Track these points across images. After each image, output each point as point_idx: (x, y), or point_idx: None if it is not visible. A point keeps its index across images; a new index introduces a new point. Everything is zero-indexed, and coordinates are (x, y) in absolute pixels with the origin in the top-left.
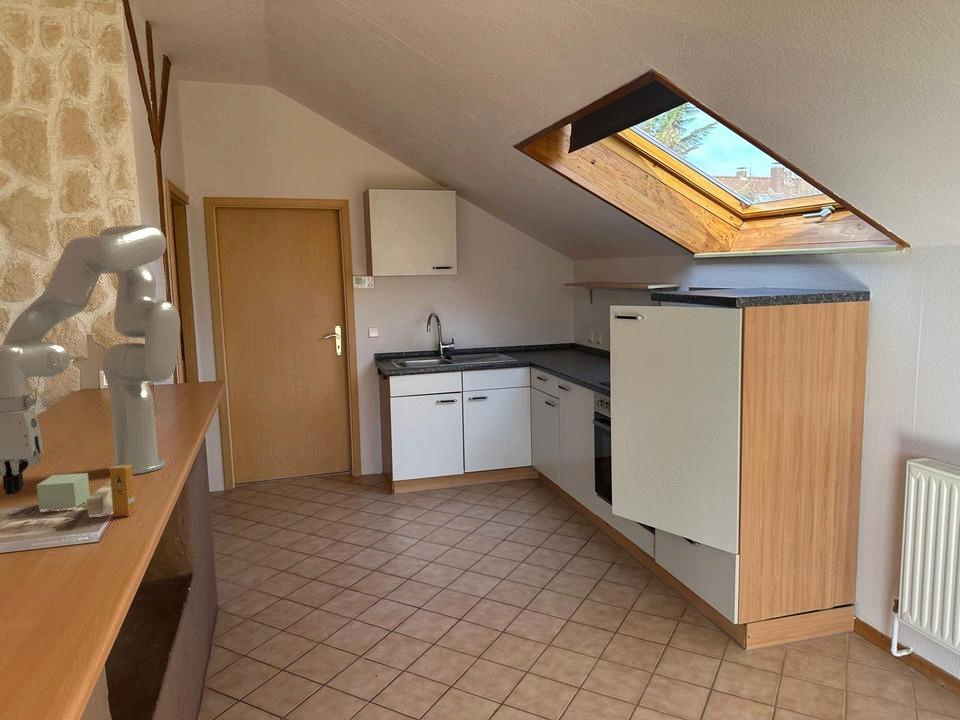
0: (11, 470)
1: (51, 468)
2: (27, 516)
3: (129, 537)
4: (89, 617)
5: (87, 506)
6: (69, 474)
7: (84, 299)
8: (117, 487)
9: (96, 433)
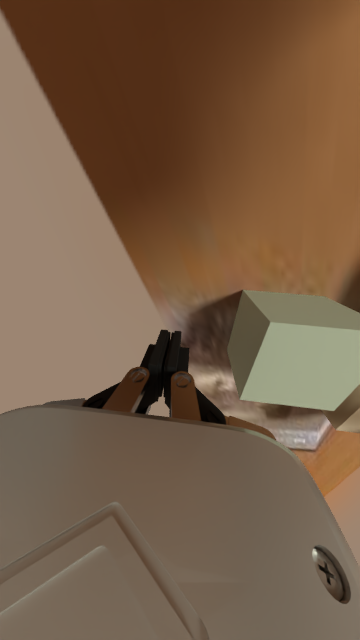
0: (153, 388)
1: None
2: (211, 360)
3: (349, 451)
4: None
5: (324, 413)
6: (333, 331)
7: None
8: None
9: None
